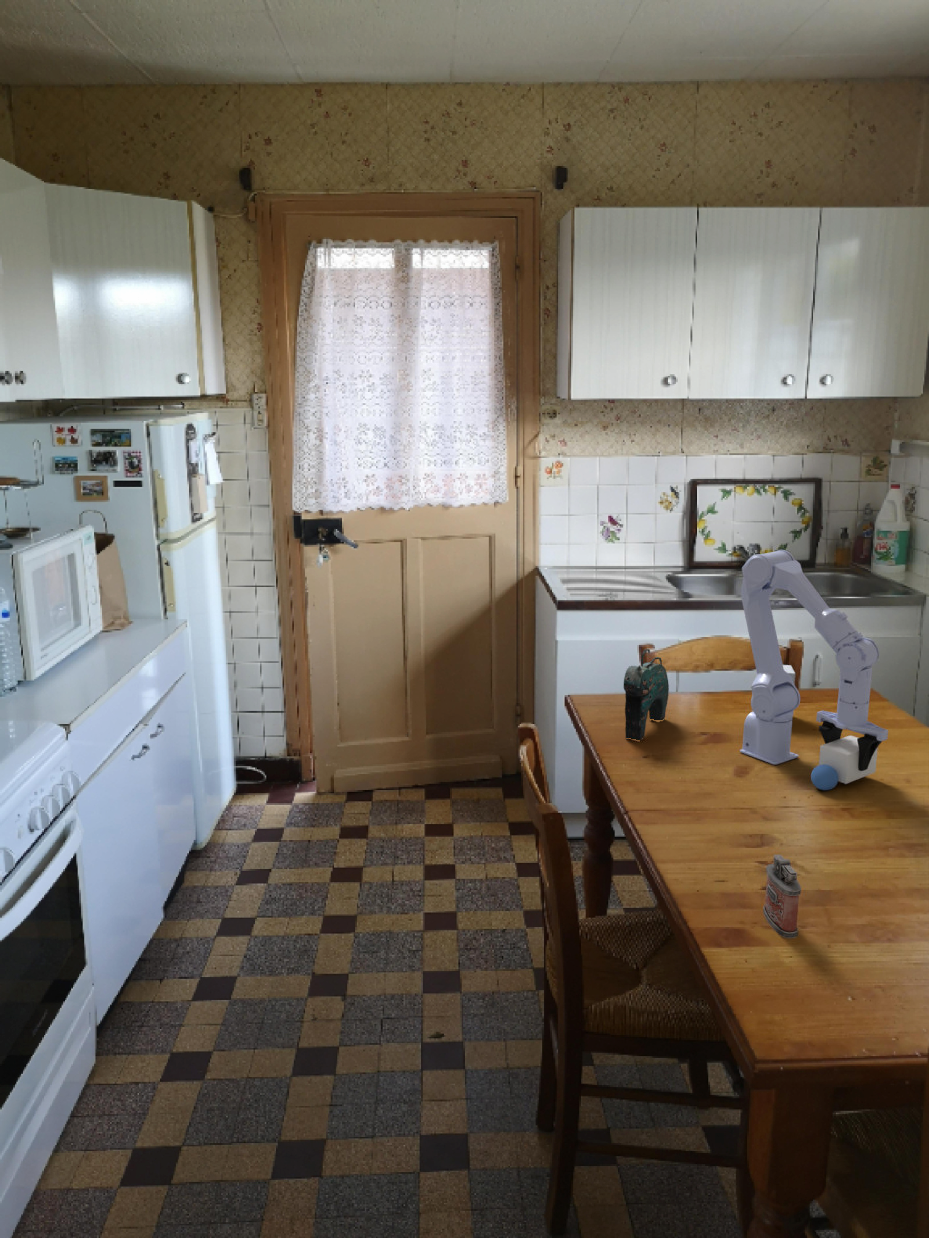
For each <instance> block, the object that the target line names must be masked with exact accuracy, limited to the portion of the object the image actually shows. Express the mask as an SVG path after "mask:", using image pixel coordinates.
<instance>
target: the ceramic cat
mask: <svg viewBox="0 0 929 1238" xmlns="http://www.w3.org/2000/svg"><path fill="white" fill-rule="evenodd" d="M646 652H647V653H648V654H650V653H651V650H650V649H649V648H646V649H644V650H643V651H642V653H641V659H640V660H641V662H640V665H630V666H628V668H626V671H625V673H624V677H623V690H624V692H625V695H624V698H625V706H624V713H625V714H624V715H625V728H624V730H625V739H626V738H631V739H636V740H641V739H642V738H643V739H644V738H645V733H646V727H647V720H648V719H649V718H650V719H654V720H663V719H664V718H665V719H666V710H667V706H668V700H669V693H670V690H669V689H670V687H669V686H670V685H669V678H668V672H667V670H666V668H665V666H664V665H663V661H662V657H660V656H656V657H654V658H652V659H651V660H650V662H644V656H645V654H646ZM655 660H658V661H659V663H655ZM648 717H649V718H648ZM665 719H664V720H665ZM641 741H642V740H641Z"/></svg>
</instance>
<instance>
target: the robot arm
mask: <svg viewBox="0 0 929 1238" xmlns="http://www.w3.org/2000/svg"><path fill="white" fill-rule="evenodd" d="M741 572H742V575H743V579H742V582H741V589H740V598H741V602H742V603H741V604H742V607H743V611H744V617H745V621H746V626H747V632H748V637H749V641H750V646H751V651H752V655H753V660H754V665H755V671H756V676H755V678H754V680H753V682H752V684H751V687H750V688H751V693H752V694H751V695H752V696H751V700H750V706H751V710H752V711H750V713H748V714H747V716H746V718H745V720H744V723H743V733H742V735H743V736H742V748H741V749H739V752H740V753H742V754H744V755H747V756H750V757H752V758H755V759H757V760H760V761H763V762H766V763H768V764H771V765H774V766H775V765H776V766H777V765H779V764H782V763H785V762H788V761H791V760H795V759H797V758H798V757H799V754H797V753H794V752H791V741H792V730H793V729H792V727H793V716H794V710H796V709H797V708H798V707H799V706H800V702H801V695H800V691H799V690H798V688H797V687H796V685H795V684H794V683H793V679H792V676H790V675H789V674H788V673H787V672H786V671H785V670H784V668H783V665H784V664H783V660H782V655H781V649H780V645H779V644H780V643H779V639H778V635H777V631H776V630H777V629H776V626H775V620H774V615H773V611H772V606H771V602H770V597H771V595H772V594H773V593H774V591H775V590H776V589H779V590H785V591H788V592H789V593H790V594H791V595H792V597H794V598H795V599H796V600H797V601H798V602H799V603H800V605H801V606H802V607H803V608H804V609H805V610H806V611H807V612H808V613H809V614H810V615H811V616H812V618H814V629H815V630H816V631H817V632H818V633H819V634H820V636H821V637H822V639H823V640H824V641H825V642H826V643H827V644H828V645H829V647H831V649H832V651H834V653H835V655H834V656H835V658H834V659H835V662H836V665H837V666H838V668H839V684H838V696H837V707H836V712H831V711H827V710H820V711H817V712H816V720H815V722H818V723H822V724H821V725H819V726H818V731H819V733H820V734H821V737H822V738H823V741H824V744H827V743H830V742H833V741H836V740H838V739H841V737H842V736H841V735H842V733H843V730H848V731H851V732H854V733H858V734H861V735H863V736H861V737H857V742H858V747H859V762H858V769H859V770H860V771H864V770H866V769H868V766H869V763H870V760H871V758H872V756H873V754H874V752H875V750H876V749H877V747H878V748H879V746H880V745H881V744H882V742H884V741H886V740H888V734H889V730H888V729H886V728H883V727H880V726H879V725H876V724H874V723H873V722H871V721H868V717H869V706H870V699H871V698H870V696H871V695H870V694H871V686H872V677H873V676H872V674H873V666H874V665H875V664H876V663H877V662H878V660H879V657H880V651H879V647H878V645H877V644H876V642H875V641H874V640H873V639H871V638H869V637H865V636H864V635H863V634H862V633H861V632H858V631H857V630H856V628H855V627H854V626H853V625H852V624H851V623H850V621H849V620H848V615H847V614H846V613H845V612H844V611H843V612H841V610H839V609H838V608H837V609H834V608H830V607H829V605H828V603H826V602H825V600H824V599H823V598H822V596H821V595H820V594H819V593H818V591H817V589H816V588H815V587H814V585H813V584H812V583H811V581H810V580H809V579H808V577H807V576H806V575H805V574H804V572H803V569H802V565H801V563H800V562H799V561H798V560H796V559H795V558H794V556H793V554H792V553H791V552H789V551H788V550H785V549H777V550H775V551H772V552H771V551H770V552H767V553H761V554H759V553H758V554H753V555H752V556H750V557H749V558H748V559H747V560H746V562H745V563H744V565H742V567H741Z"/></svg>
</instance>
